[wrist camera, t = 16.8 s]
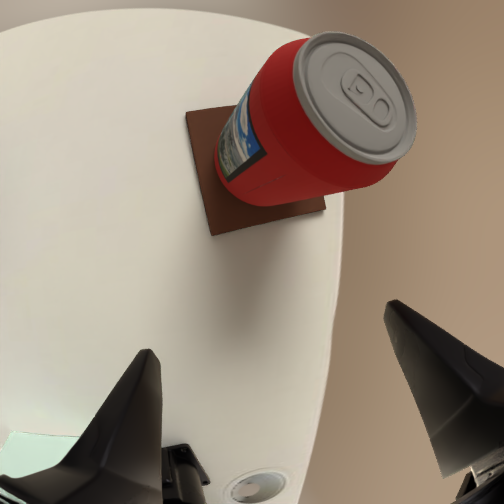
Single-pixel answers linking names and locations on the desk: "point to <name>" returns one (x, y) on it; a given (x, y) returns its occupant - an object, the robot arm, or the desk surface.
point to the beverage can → (316, 122)
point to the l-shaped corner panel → (31, 454)
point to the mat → (216, 194)
